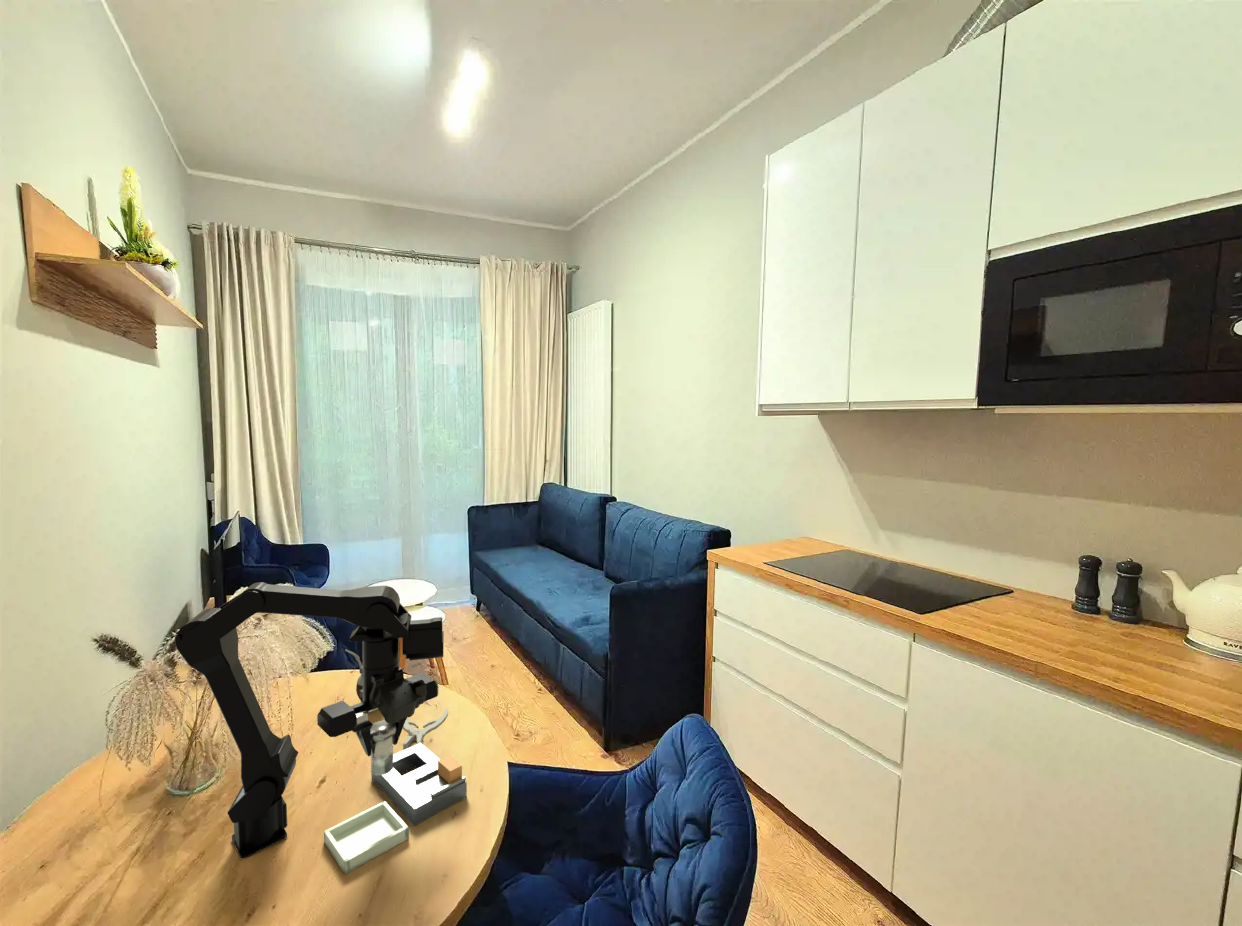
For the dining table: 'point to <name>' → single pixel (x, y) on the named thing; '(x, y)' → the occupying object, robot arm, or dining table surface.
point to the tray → (365, 836)
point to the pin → (382, 747)
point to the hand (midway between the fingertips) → (381, 749)
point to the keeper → (449, 769)
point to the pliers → (418, 733)
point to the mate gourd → (360, 679)
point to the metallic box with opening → (419, 784)
